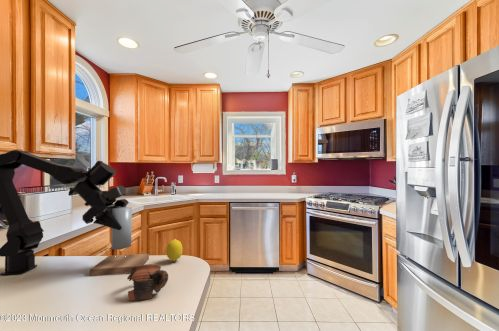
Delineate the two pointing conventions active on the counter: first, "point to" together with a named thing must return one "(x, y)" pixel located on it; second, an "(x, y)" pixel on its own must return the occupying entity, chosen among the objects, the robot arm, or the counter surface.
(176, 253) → the lemon
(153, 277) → the pottery mug
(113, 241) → the grey cylinder
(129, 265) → the shelf board
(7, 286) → the counter surface
